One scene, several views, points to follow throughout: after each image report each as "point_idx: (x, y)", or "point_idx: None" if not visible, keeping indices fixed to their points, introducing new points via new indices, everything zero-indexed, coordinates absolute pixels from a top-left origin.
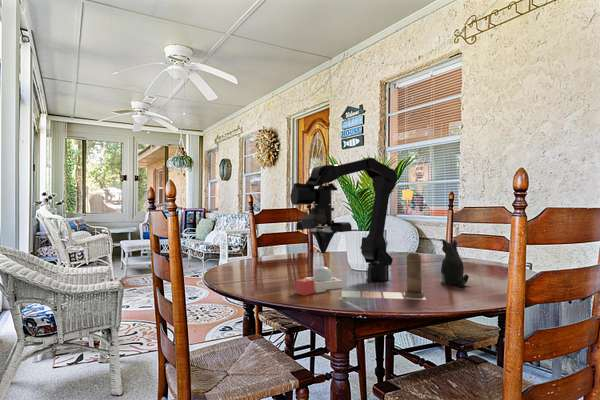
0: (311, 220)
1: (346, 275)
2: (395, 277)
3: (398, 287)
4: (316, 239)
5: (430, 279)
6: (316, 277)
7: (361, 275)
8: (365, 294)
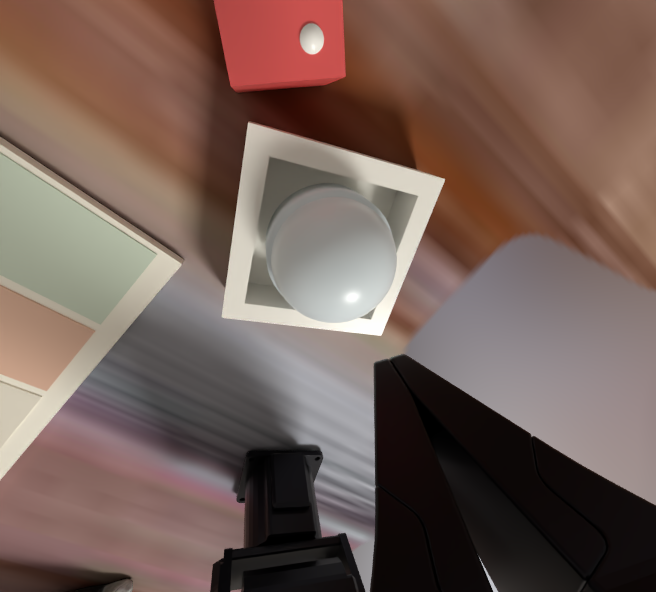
0: None
1: None
2: None
3: (152, 483)
4: (620, 493)
5: None
6: (331, 196)
7: None
8: (6, 305)
